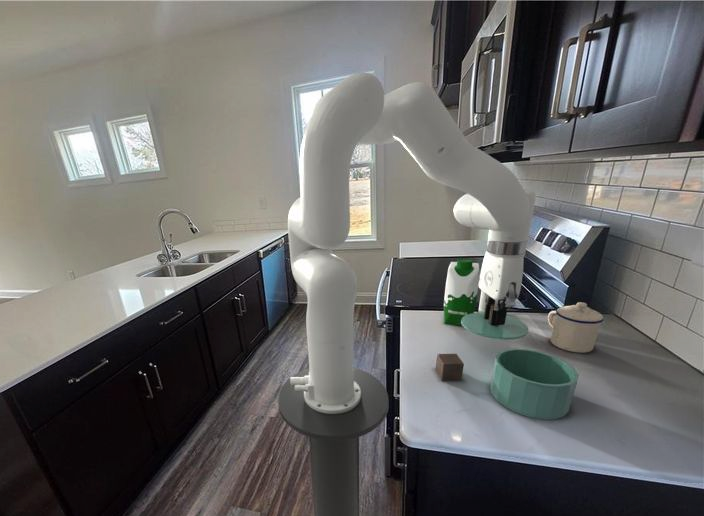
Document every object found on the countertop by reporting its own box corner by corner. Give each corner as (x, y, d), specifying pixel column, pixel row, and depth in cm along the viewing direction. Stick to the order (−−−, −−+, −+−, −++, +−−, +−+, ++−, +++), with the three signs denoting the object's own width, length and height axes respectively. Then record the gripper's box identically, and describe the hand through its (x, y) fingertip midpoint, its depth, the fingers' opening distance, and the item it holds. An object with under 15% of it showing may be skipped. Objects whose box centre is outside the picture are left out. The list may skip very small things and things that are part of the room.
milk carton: (441, 324, 98) (447, 261, 90) (443, 313, 105) (449, 254, 98) (473, 328, 94) (482, 263, 86) (473, 316, 101) (482, 255, 94)
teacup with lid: (603, 350, 79) (617, 307, 75) (572, 356, 77) (585, 312, 73) (559, 330, 90) (568, 291, 86) (531, 334, 88) (539, 295, 84)
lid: (475, 342, 72) (479, 318, 70) (452, 316, 85) (454, 295, 83) (541, 341, 71) (547, 316, 69) (507, 315, 84) (511, 293, 82)
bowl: (511, 420, 59) (518, 386, 57) (479, 377, 72) (484, 349, 69) (586, 419, 58) (597, 386, 55) (540, 377, 71) (547, 347, 68)
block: (441, 380, 72) (443, 364, 70) (435, 369, 76) (437, 353, 74) (461, 380, 71) (464, 363, 70) (454, 369, 75) (456, 353, 74)
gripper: (473, 241, 79) (464, 309, 85) (507, 256, 64) (494, 337, 70) (504, 239, 78) (493, 308, 85) (547, 255, 63) (529, 336, 70)
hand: (493, 321), depth 77 cm, fingers closed on lid, 2 cm apart
